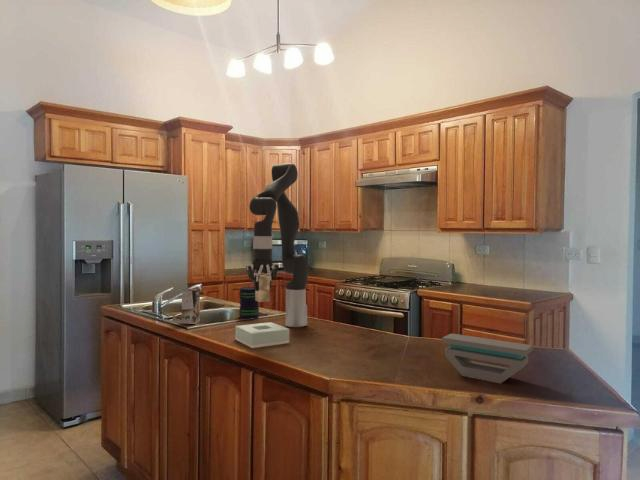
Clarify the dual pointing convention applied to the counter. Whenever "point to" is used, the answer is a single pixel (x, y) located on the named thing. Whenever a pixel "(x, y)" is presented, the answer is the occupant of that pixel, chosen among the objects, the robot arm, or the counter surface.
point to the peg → (263, 289)
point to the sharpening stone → (485, 356)
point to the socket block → (262, 334)
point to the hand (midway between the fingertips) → (262, 290)
